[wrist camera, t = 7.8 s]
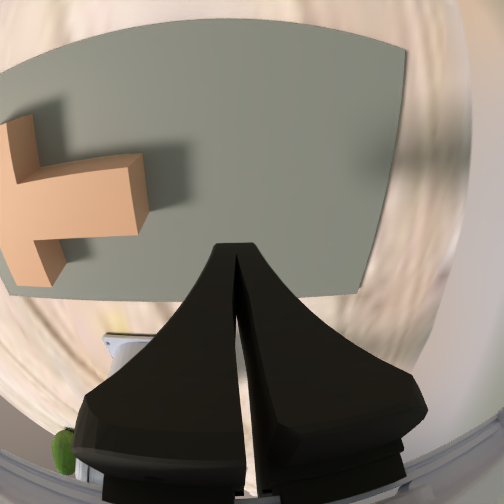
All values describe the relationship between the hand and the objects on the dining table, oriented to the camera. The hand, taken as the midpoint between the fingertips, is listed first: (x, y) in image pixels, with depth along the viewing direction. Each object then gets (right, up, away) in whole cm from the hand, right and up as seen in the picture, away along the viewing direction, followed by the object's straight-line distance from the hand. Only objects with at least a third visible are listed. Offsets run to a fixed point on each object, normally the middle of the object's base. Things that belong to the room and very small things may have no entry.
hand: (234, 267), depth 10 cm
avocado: (-41, -40, +34) cm, 67 cm away
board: (-7, +5, +7) cm, 11 cm away
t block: (-12, +5, +6) cm, 14 cm away
